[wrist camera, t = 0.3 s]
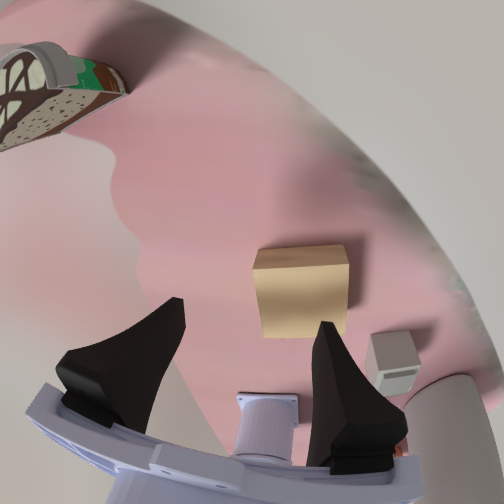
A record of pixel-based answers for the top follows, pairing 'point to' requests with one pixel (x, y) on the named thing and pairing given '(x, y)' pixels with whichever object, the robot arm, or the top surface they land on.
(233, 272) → the top surface
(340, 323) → the oak block
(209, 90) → the top surface
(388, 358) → the block
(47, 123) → the food container
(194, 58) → the top surface
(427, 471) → the cylinder vase
